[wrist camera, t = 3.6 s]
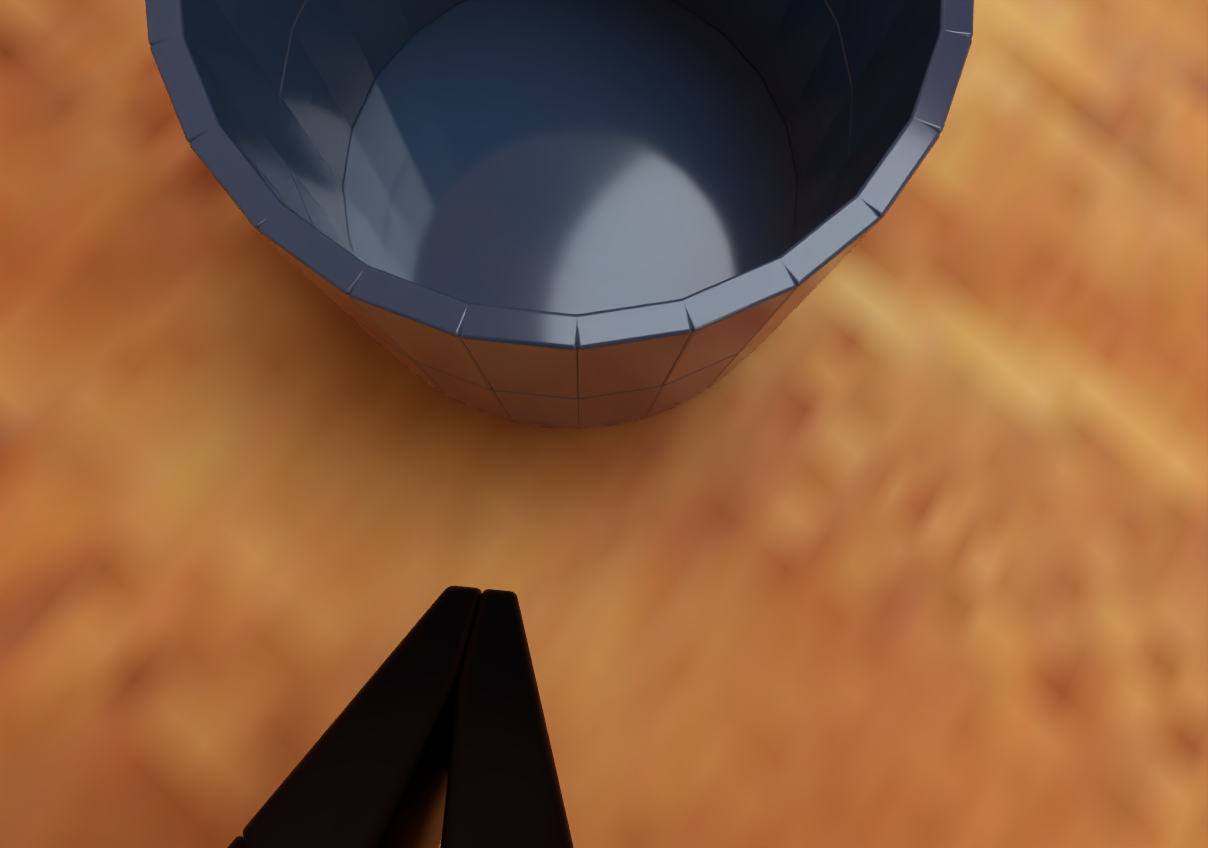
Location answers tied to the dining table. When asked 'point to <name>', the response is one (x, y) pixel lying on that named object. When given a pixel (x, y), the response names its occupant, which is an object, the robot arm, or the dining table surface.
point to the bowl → (563, 171)
